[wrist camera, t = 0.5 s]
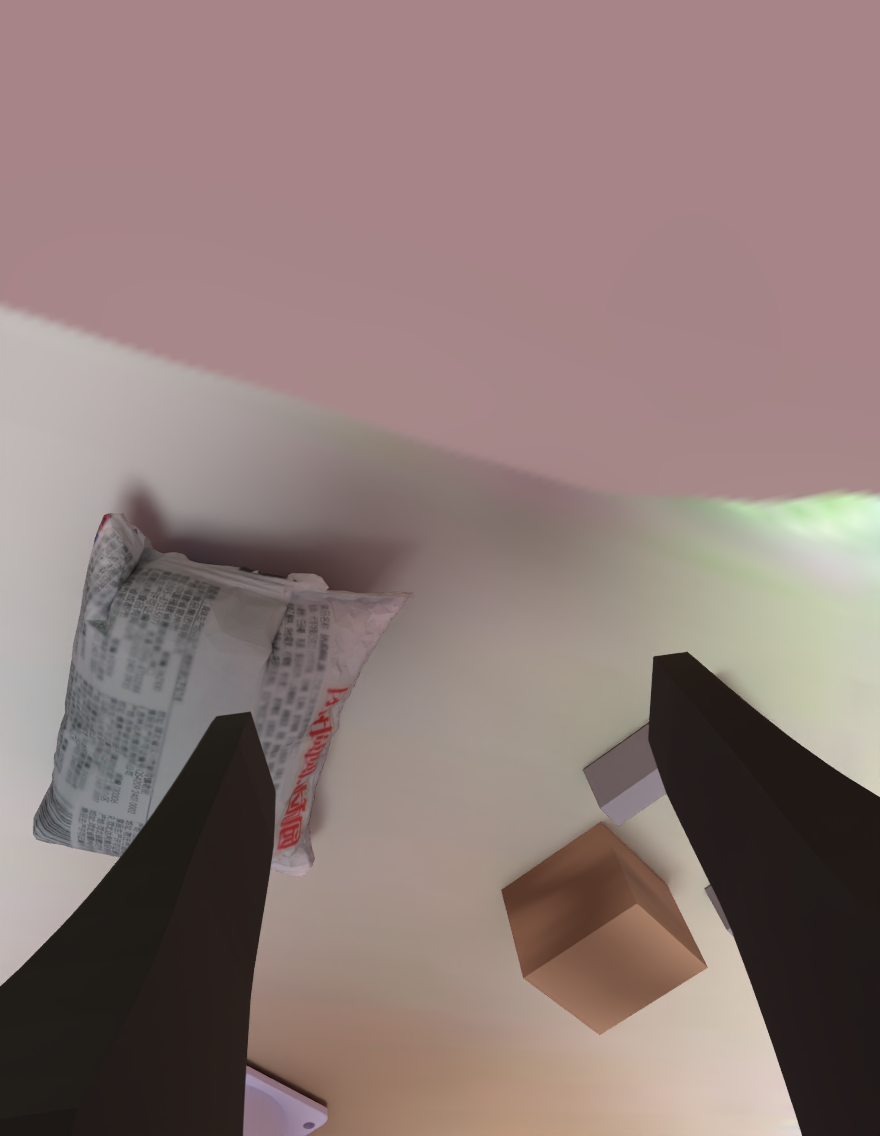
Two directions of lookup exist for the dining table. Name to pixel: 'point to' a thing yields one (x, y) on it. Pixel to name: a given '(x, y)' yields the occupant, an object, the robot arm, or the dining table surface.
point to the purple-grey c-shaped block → (631, 786)
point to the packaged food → (198, 686)
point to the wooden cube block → (599, 930)
